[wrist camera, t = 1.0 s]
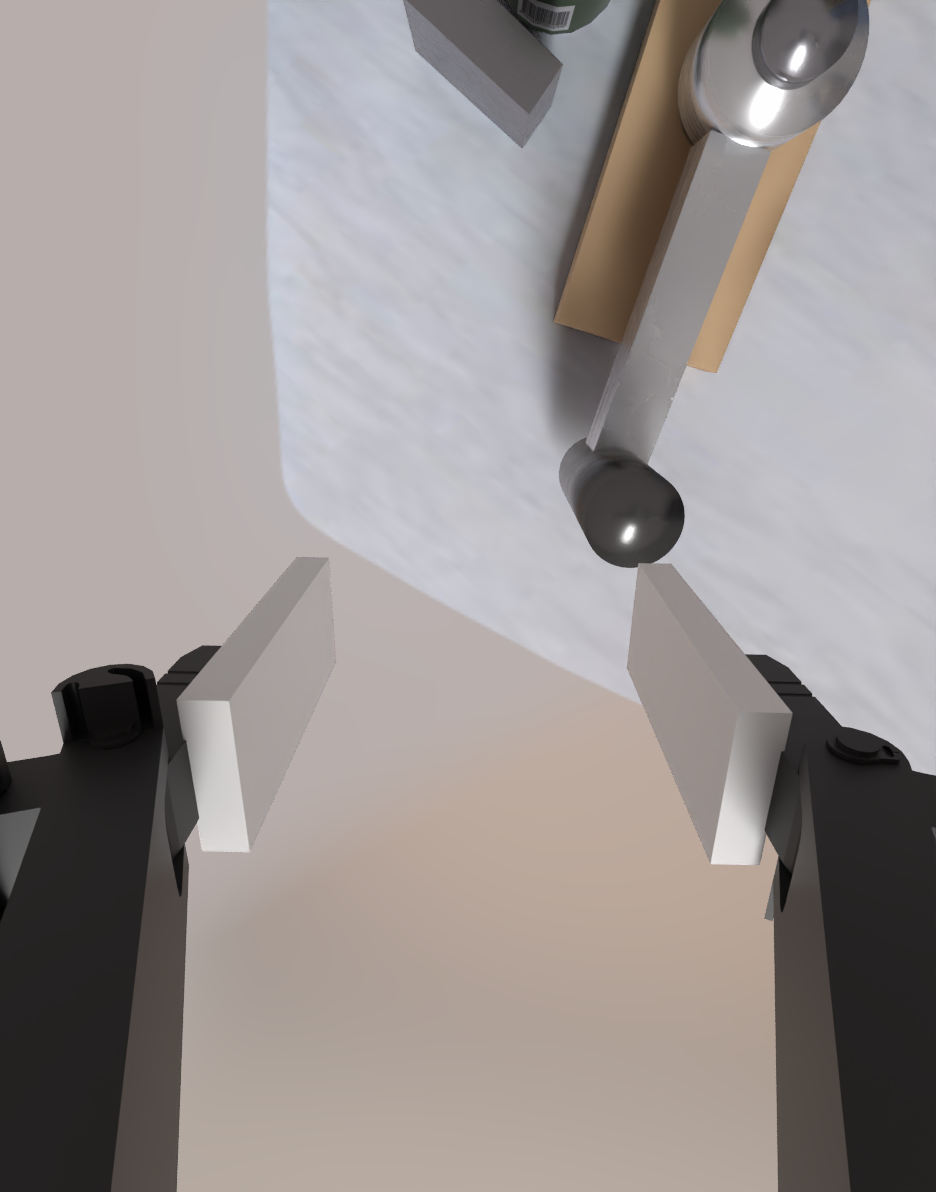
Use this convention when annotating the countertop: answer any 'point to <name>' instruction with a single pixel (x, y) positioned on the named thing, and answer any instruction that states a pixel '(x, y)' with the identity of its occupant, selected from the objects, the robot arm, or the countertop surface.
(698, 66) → the lever
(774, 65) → the pivot and anvil
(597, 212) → the press bench
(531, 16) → the green drink can
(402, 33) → the countertop surface
